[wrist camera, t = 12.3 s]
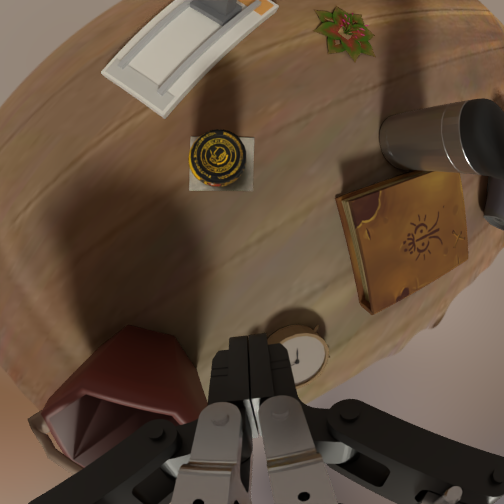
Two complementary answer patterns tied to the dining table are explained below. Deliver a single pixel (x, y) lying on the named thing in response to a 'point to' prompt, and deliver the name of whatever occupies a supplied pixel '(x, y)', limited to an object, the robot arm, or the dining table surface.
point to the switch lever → (217, 9)
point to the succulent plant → (345, 20)
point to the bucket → (118, 396)
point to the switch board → (179, 51)
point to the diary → (403, 234)
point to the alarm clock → (303, 352)
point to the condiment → (221, 162)
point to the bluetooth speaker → (495, 203)
